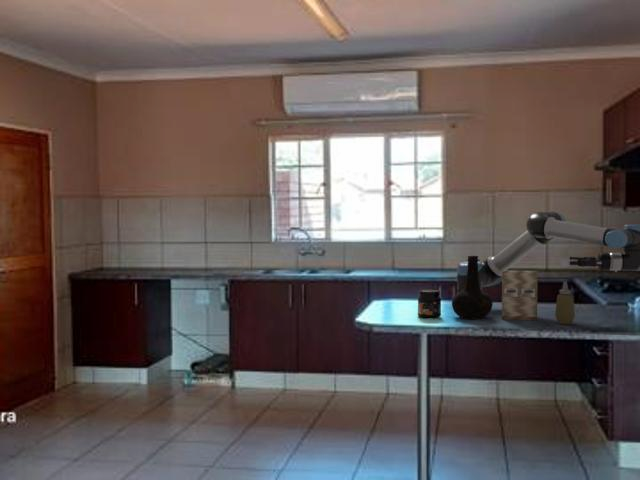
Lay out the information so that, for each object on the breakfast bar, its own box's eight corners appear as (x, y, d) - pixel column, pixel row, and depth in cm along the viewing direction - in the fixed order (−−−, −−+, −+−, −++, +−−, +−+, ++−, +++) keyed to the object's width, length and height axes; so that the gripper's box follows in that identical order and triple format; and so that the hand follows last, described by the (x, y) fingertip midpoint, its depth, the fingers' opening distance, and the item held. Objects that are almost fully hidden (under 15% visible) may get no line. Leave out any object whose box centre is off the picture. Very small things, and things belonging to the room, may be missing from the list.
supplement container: (413, 317, 342) (413, 291, 341) (424, 314, 350) (424, 289, 349) (434, 319, 335) (434, 292, 335) (445, 316, 344) (445, 290, 343)
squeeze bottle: (572, 322, 325) (572, 280, 324) (576, 325, 317) (577, 282, 316) (553, 322, 326) (553, 280, 325) (557, 324, 318) (557, 282, 317)
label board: (501, 319, 334) (502, 271, 333) (501, 317, 339) (502, 270, 338) (537, 320, 330) (537, 271, 329) (536, 318, 336) (536, 270, 335)
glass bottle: (450, 320, 333) (450, 256, 332) (453, 314, 350) (454, 254, 349) (491, 321, 328) (491, 257, 327) (493, 315, 346) (493, 254, 344)
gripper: (617, 273, 307) (564, 273, 308) (600, 268, 331) (551, 267, 333) (618, 254, 306) (564, 254, 308) (600, 251, 331) (551, 250, 333)
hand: (557, 261), depth 321 cm, fingers open, 13 cm apart
